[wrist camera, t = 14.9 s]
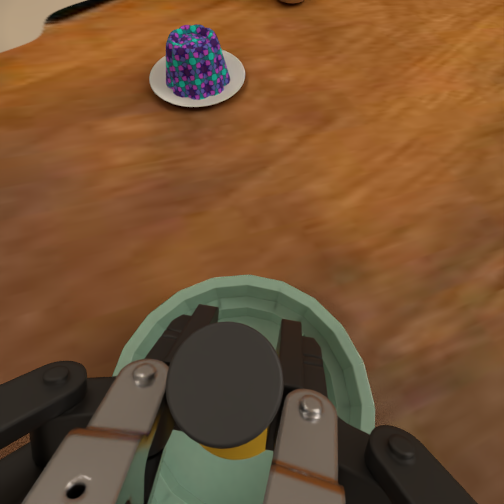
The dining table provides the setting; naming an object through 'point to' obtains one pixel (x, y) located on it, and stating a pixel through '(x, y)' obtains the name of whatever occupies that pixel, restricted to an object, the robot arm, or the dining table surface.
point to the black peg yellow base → (225, 389)
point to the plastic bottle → (291, 1)
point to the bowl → (268, 324)
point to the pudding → (196, 69)
